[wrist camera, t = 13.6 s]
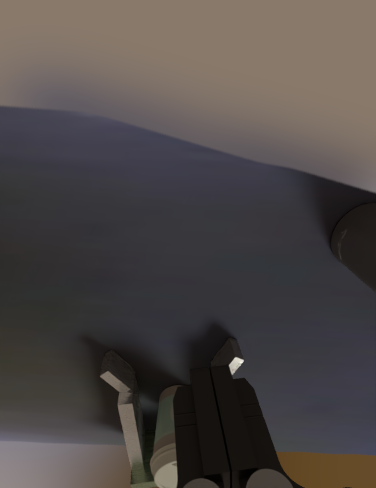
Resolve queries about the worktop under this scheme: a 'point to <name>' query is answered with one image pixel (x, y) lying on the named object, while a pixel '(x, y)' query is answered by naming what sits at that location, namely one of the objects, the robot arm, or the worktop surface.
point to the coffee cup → (165, 442)
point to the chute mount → (131, 413)
